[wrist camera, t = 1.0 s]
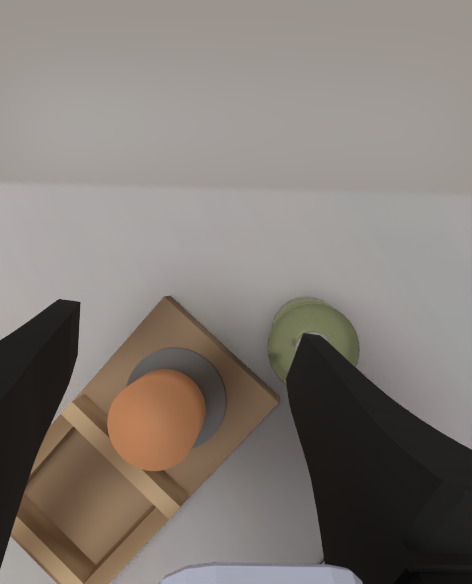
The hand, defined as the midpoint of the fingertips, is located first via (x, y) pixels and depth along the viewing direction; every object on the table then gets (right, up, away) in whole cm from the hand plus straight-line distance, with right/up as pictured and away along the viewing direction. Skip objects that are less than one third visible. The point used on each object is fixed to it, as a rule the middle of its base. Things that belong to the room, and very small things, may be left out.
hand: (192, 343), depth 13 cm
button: (-2, -5, +9) cm, 10 cm away
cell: (+6, -1, +11) cm, 12 cm away
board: (-5, -8, +12) cm, 16 cm away
